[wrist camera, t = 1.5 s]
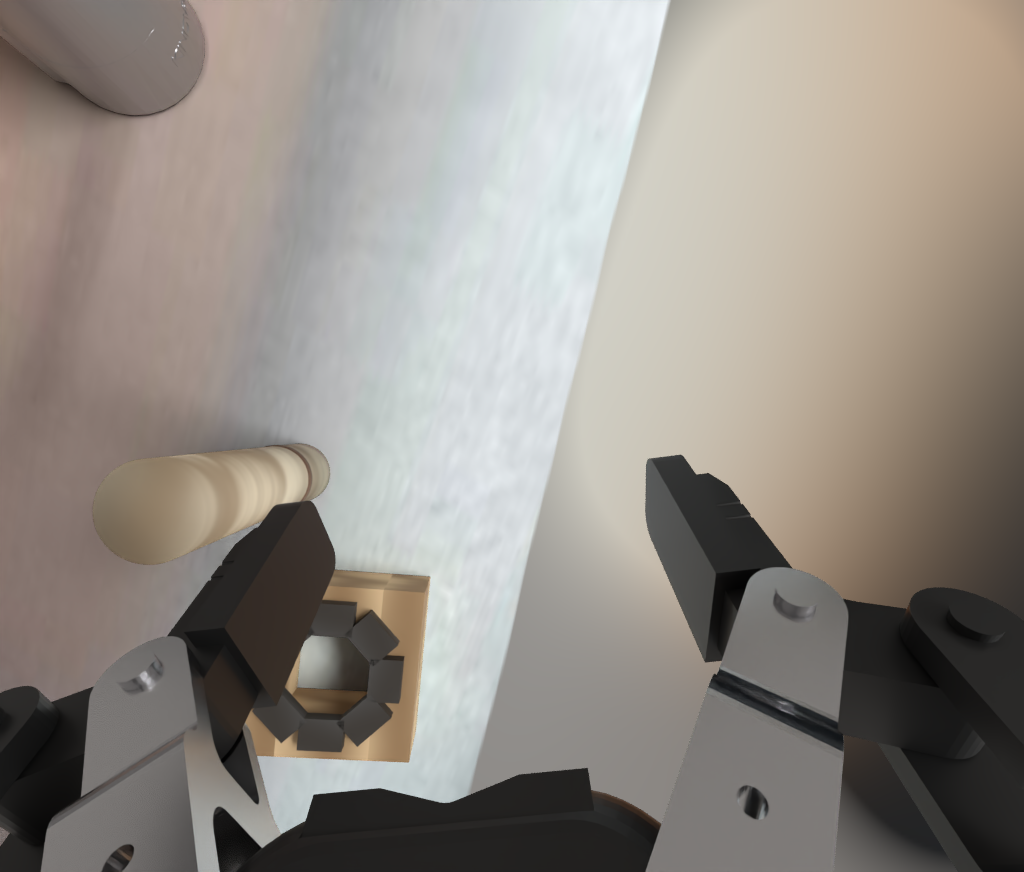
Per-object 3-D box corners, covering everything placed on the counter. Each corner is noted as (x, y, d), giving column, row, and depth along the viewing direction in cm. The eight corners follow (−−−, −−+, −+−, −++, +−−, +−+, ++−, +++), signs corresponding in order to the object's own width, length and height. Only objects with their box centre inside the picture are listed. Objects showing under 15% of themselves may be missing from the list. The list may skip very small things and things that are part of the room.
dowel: (266, 499, 31) (86, 561, 17) (272, 440, 31) (96, 452, 17) (328, 504, 31) (201, 569, 17) (333, 446, 31) (210, 462, 17)
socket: (255, 722, 31) (225, 761, 27) (269, 565, 31) (241, 583, 27) (415, 730, 32) (407, 769, 28) (430, 576, 32) (423, 596, 28)
